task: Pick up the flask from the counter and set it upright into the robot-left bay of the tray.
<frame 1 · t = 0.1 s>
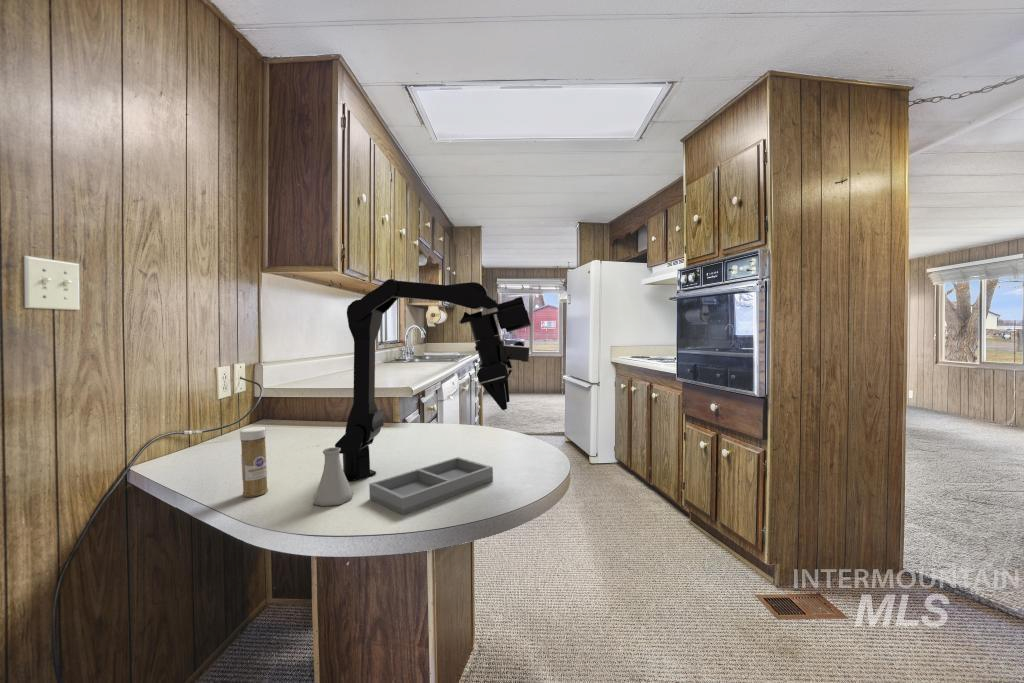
hand: (506, 405, 97), 15 cm above the table, tool pointing down, fingers open, 9 cm apart
tray: (434, 489, 90), on the table
sprinkles bottle: (255, 494, 90), on the table
flask: (333, 501, 85), on the table
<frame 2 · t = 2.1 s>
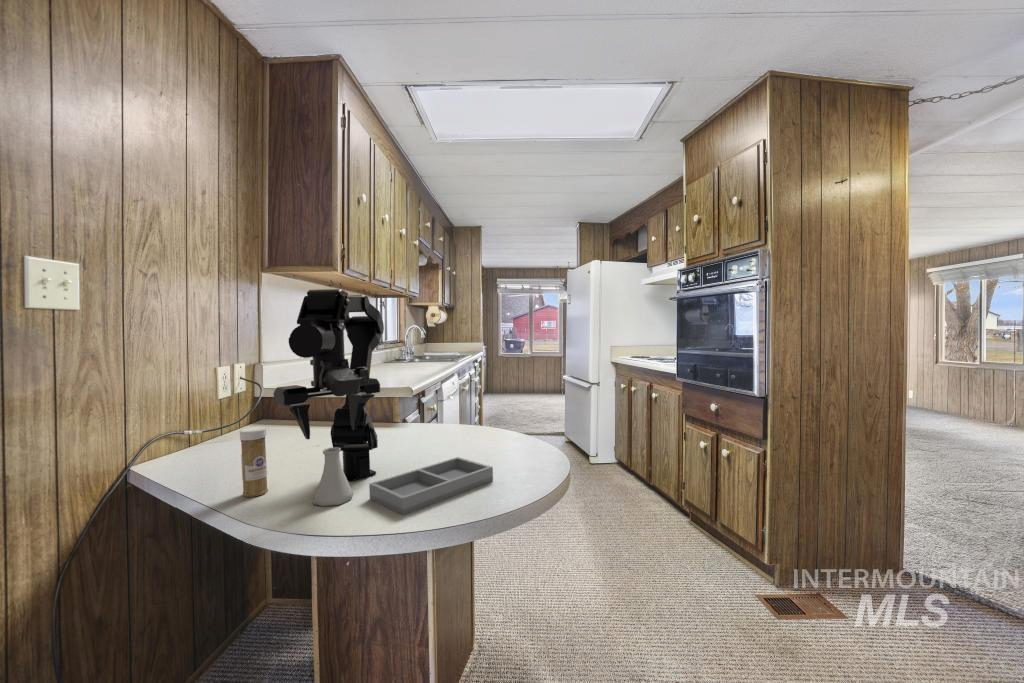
hand: (331, 434, 85), 13 cm above the table, tool pointing down, fingers open, 9 cm apart
nothing on the table moved.
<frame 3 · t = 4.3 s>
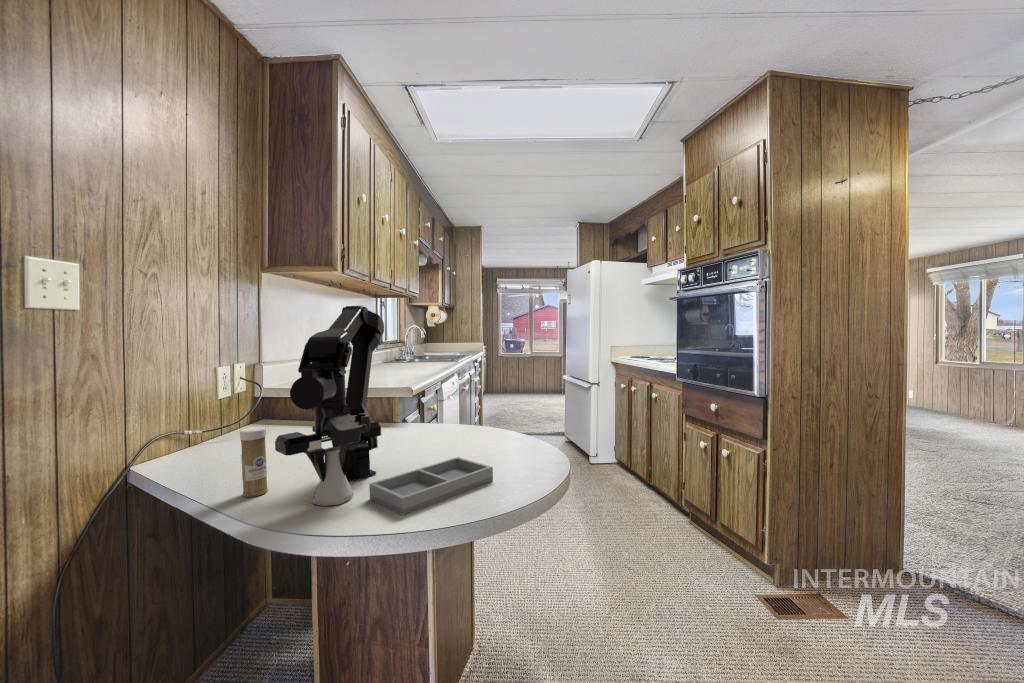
hand: (332, 479, 85), 4 cm above the table, tool pointing down, fingers closed on flask, 3 cm apart
flask: (333, 500, 85), on the table, touching gripper
everything else where it was.
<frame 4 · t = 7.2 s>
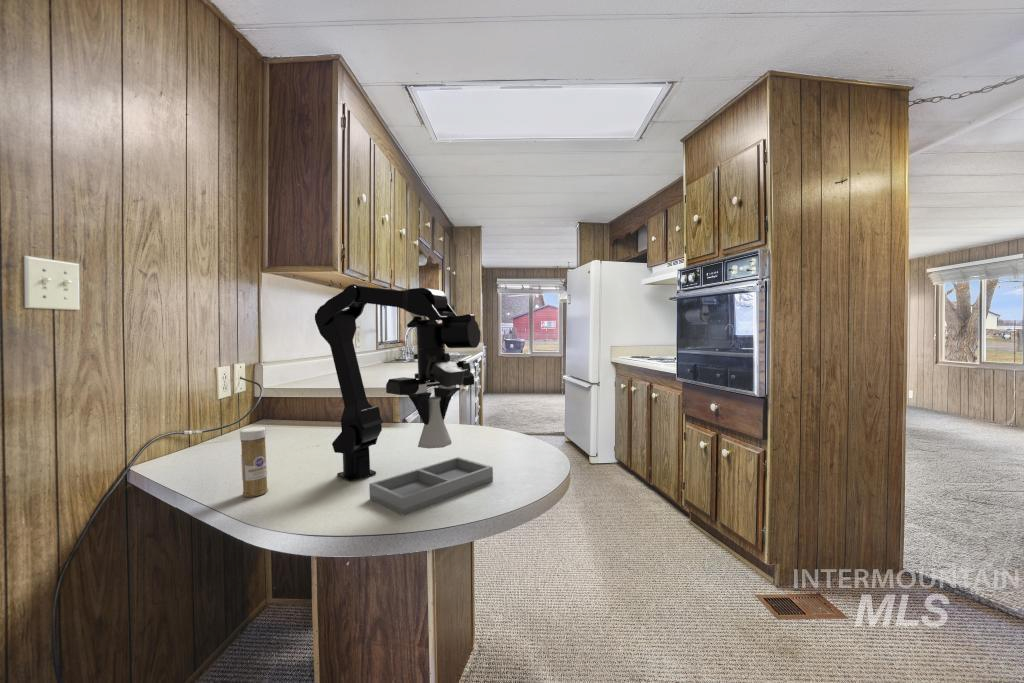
hand: (434, 423, 92), 13 cm above the table, tool pointing down, fingers closed on flask, 3 cm apart
flask: (435, 446, 92), point 8 cm above the table, touching gripper
everything else where it was.
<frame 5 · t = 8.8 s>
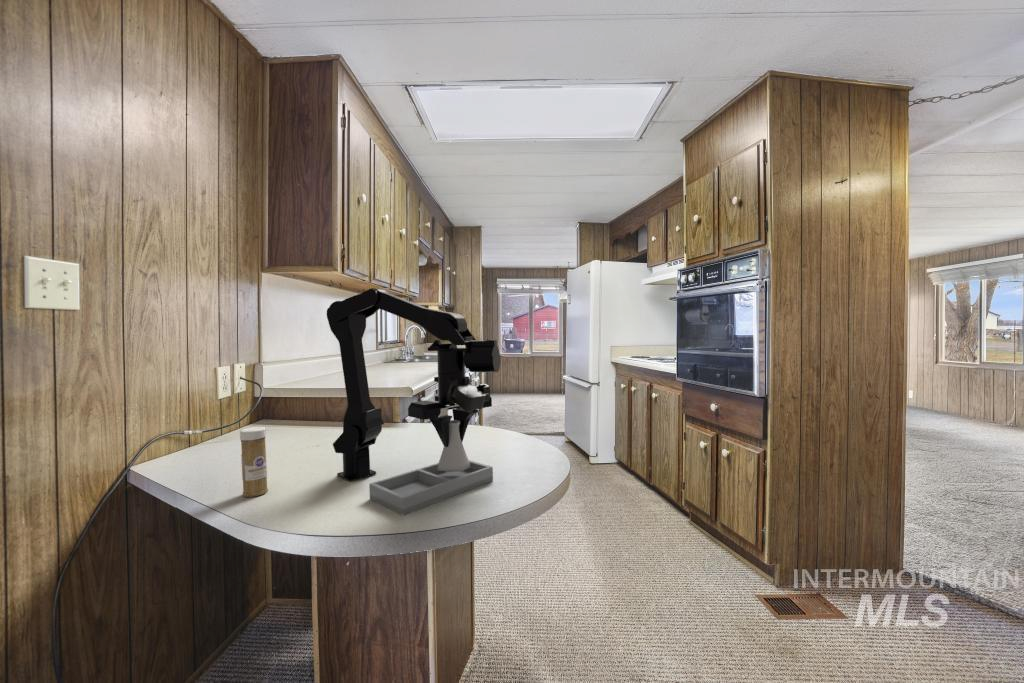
hand: (453, 444, 93), 8 cm above the table, tool pointing down, fingers closed on flask, 3 cm apart
flask: (453, 468, 94), point 3 cm above the table, touching gripper
everything else where it was.
when the fingers open (6 cm above the table, at t = 10.0 s): flask stays where it is, resting on tray.
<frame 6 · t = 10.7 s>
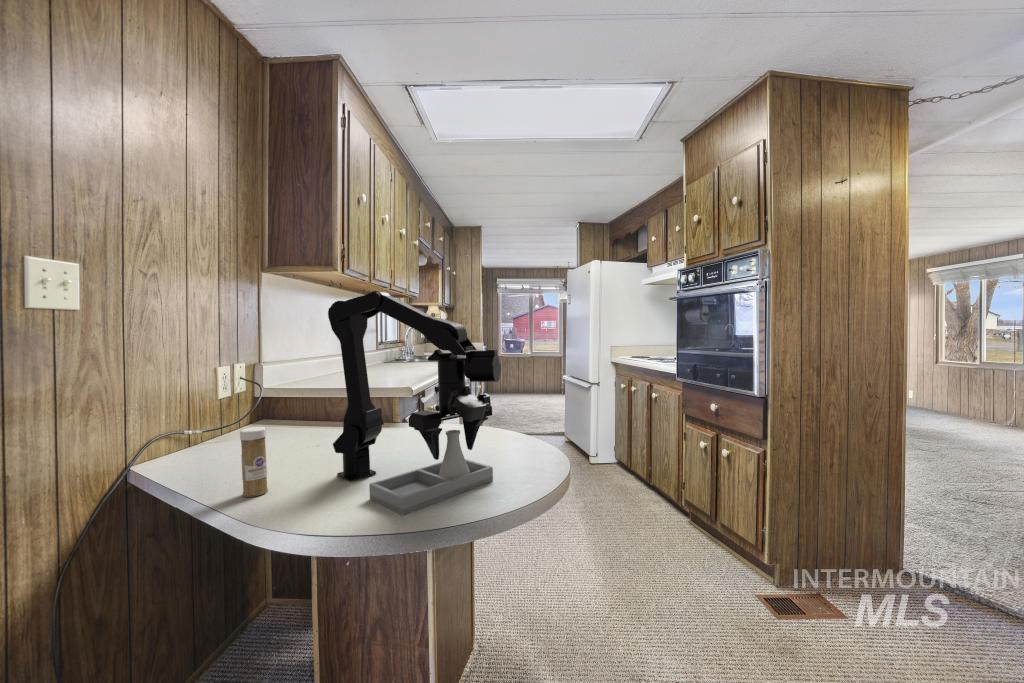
hand: (453, 454, 93), 6 cm above the table, tool pointing down, fingers open, 9 cm apart
flask: (454, 478, 94), point 1 cm above the table, touching tray
everything else where it was.
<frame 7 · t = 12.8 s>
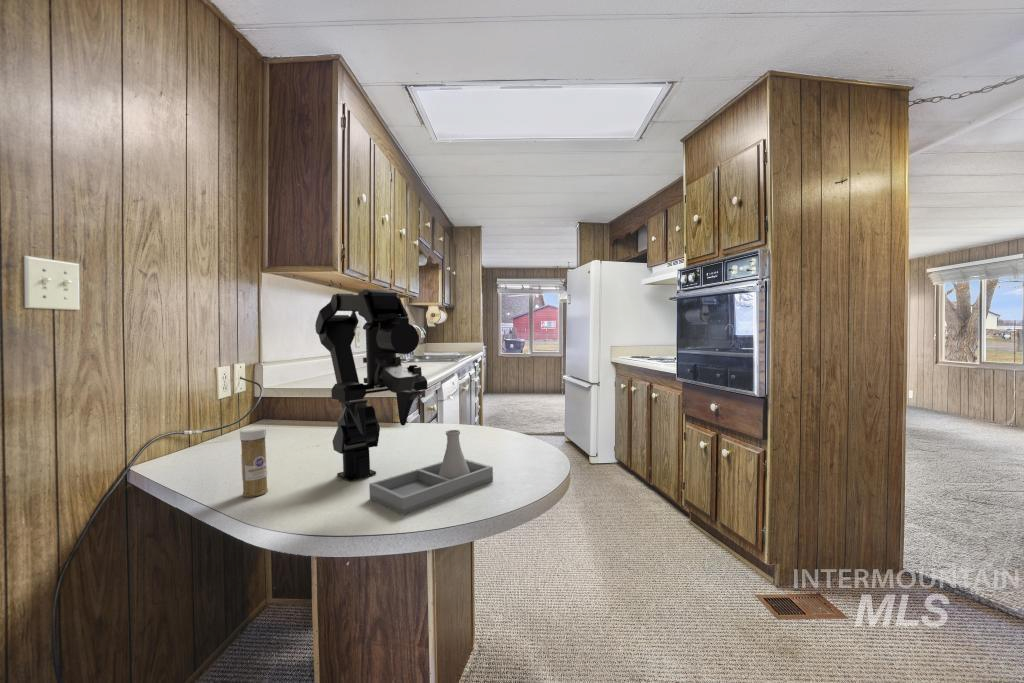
hand: (383, 429, 88), 13 cm above the table, tool pointing down, fingers open, 9 cm apart
nothing on the table moved.
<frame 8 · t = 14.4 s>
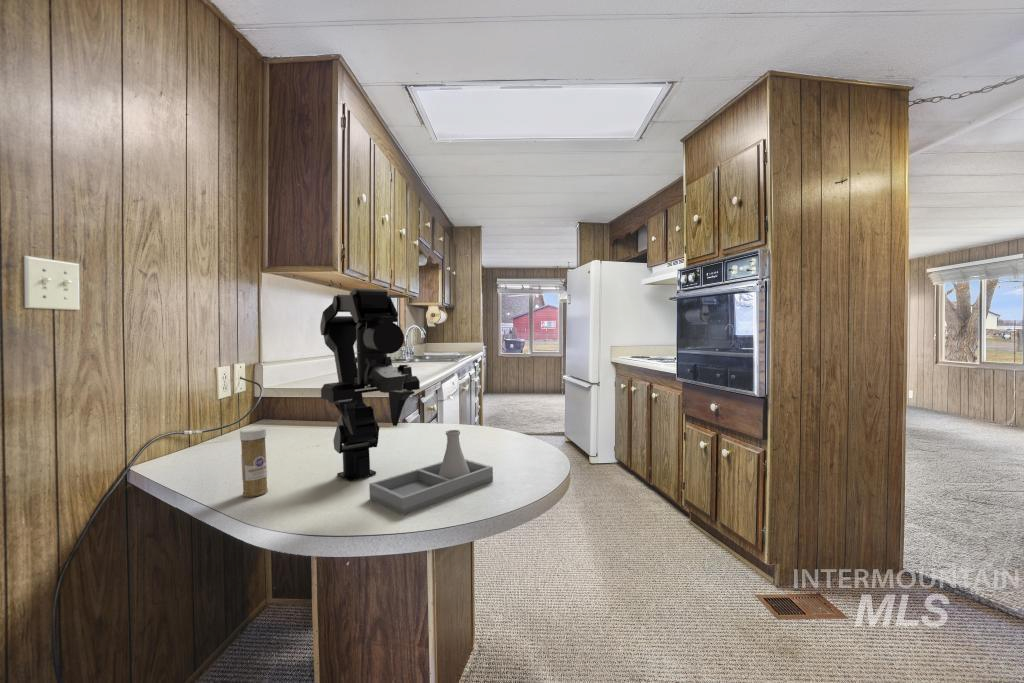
hand: (374, 429, 87), 13 cm above the table, tool pointing down, fingers open, 9 cm apart
nothing on the table moved.
at the end: flask 0.1 cm from the target spot on the tray, point 0.8 cm above the tray's base; flask tilted 0°; the gripper is holding nothing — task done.
